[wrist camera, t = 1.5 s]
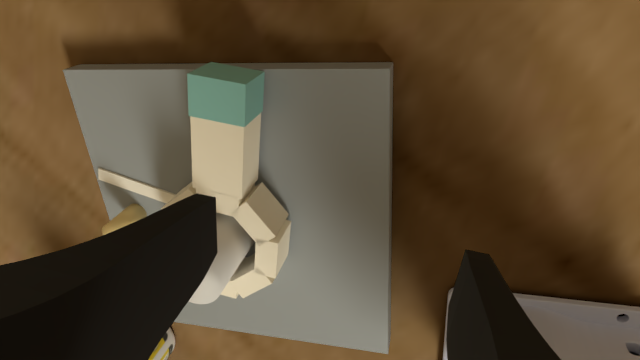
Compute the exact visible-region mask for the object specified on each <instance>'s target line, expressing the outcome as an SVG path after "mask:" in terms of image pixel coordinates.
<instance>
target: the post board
mask: <svg viewBox="0 0 640 360" xmlns="http://www.w3.org/2000/svg"><path fill="white" fill-rule="evenodd" d="M205 64H207V63H192V64H79V65H76V66H73V67H70V68H67V69H64V70H63V72H64V75H65V78H66V81H67V85H68V88H69V91H70V94H71V97H72V101H73V104H74V107H75V110H76V113H77V117H78V120H79V123H80V126H81V129H82V133H83V136H84V139H85V142H86V145H87V148H88V152H89V155H90V158H91V161H92V164H93V168H94V171H95V174H96V177H97V180H98V184H99V187H100V190H101V193H102V196H103V200H104V203H105V206H106V209H107V212H108V215H109V219H110V221H109V222H108V223H107V224H106V225H105V226H103V228H102V234H103V235H106V234H108V233H110V232H113V231H115V230H117V229H120V228H122V227H124V226H127V225H129V224H131V223H134V222H136V221H138V220H140V219H142V218H145V217H147V216H149V215H151V214H153V213H155V212H157V211H159V210H161V208H162V207H163V206H164V205H165V204H166V203H168V202H169V201H170V200H171V199H172V198H173V197H174V196H175V195H176V194H177V193H178V192H180V191H181V190H182V189H183V188H184V187H186V186H187V185H188V184H190V183H191V182H192V154H191V123H190V116H189V113H188V84H187V73H189V72H191V71H193V70H195V69H197V68H199V67H201V66H203V65H205ZM220 64H226V65H231V66H237V67H242V68H248V69H253V70H259V71H264V72H265V75H264V95H263V111H262V112H261V127H260V148H259V169H258V180H257V181H256V182H255V186H257V185H258V184H260V183H261V182H263V184H264V185H265V186H266V187H267V188H268V190H269V191H270V192H271V193H272V194H273V196H274V197H275V198H276V199H277V200H278V202H279V203H280V204H281V205H282V206H283V208H284V209H285V210H286V211H287V213H288V214H289V215H288V217H287V218H286V220H289V221H291V229H290V240H289V251H288V256H287V257H286V259H285V261H284V263H283V265H282V267H281V269H280V271H279V273H278V275H277V277H276V279H274V281H273V283H272V284H270V285H268V286H266V287H264V288H262V289H260V290H258V291H256V292H255V293H253V294H251V295H249V296H247V297H245V298H242V297H241V296H240V295H238V297H237V298H236V299H235V298H231V297H228V296H224V295H220V294H221V292H222V291H223V289H224V288H225V286H226V285H227V283H228V282H229V280H230V279H231V277H232V276H233V274H234V273H235V271H236V270H237V268H238V266H239V265H240V263H241V262H242V260H243V259H244V257H249V256H251V255H253V254H255V245H256V242H255V241H254V240H253V239H252V238H251V236H250V235H249V234H248V233H247V232H246V231H245V230H244V228H243V227H242V226H241V225H240V224H239V223H238V222H237V220H236V219H235V218H234V217H233V216H229V215H224V214H220V213H216V219H217V251H218V253H217V255H216V257H215V259H214V261H213V263H212V265H211V267H210V268H209V270H208V272H207V274H206V276H205V278H204V280H203V281H202V283H201V284H200V286H199V287H198V288H197V290H196V291H195V293H194V294H193V296H192V297H191V298H190V300H189V301H188V303H187V304H186V305H185V307H184V308H183V310H182V311H181V312H180V314H179V315H178V317H177V318H176V319H175V321H174V322H179V323H185V324H192V325H199V326H205V327H212V328H219V329H225V330H232V331H238V332H245V333H252V334H258V335H265V336H272V337H278V338H285V339H292V340H298V341H305V342H312V343H318V344H325V345H332V346H338V347H345V348H352V349H358V350H365V351H372V352H378V353H385V354H388V351H389V344H390V327H391V230H392V132H393V62H333V63H220Z"/></svg>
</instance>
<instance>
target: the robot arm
mask: <svg viewBox="0 0 640 360" xmlns="http://www.w3.org/2000/svg"><path fill="white" fill-rule="evenodd" d="M217 253H218V251H217V219H216V197H212V196H207V195H203V194H198V193H196V194H194V195H191V196H189V197H187V198H184V199H182V200H180V201H178V202H176V203H174V204H172V205H170V206H168V207H166V208H163V209H161V210H159V211H157V212H155V213H153V214H151V215H149V216H147V217H145V218H142V219H140V220H138V221H136V222H134V223H131V224H129V225H127V226H124V227H122V228H120V229H117V230H115V231H113V232H110V233H108V234H106V235H103V236H100V237H98V238H95V239H92V240H90V241H87V242H84V243H81V244H78V245H75V246H72V247H69V248H66V249H63V250H60V251H56V252H52V253H49V254H45V255H41V256H37V257H34V258H30V259H26V260H22V261H18V262H14V263H9V264H4V265H0V360H148V359H149V358H150V356H151V354H152V353H153V351H154V349H155V348H156V346H157V345H158V343H159V342H160V340H161V339H162V337H163V336H164V335H165V333H166V332H167V330H168V329H169V328H170V326H171V325H172V323H173V322H174V321H175V319H176V318H177V317H178V315H179V314H180V312H181V311H182V310H183V308H184V307H185V305H186V304H187V303H188V301H189V300H190V298H191V297H192V296H193V294H194V293H195V291H196V290H197V288H198V287H199V286H200V284H201V283H202V281H203V280H204V278H205V276H206V274H207V272H208V270H209V268H210V267H211V265H212V263H213V261H214V259H215V257H216V255H217ZM620 314H625V315H624V316H621V317H618V315H620ZM443 360H640V307H635V306H626V305H617V304H608V303H599V302H590V301H581V300H572V299H563V298H553V297H544V296H535V295H526V294H517V293H512V292H511V290H510V288H509V287H508V285H507V283H506V282H505V280H504V278H503V277H502V275H501V273H500V272H499V270H498V268H497V267H496V265H495V263H494V261H493V260H492V258H491V257H490V255H489V254H484V253H480V252H475V251H470V250H465V253H464V256H463V260H462V263H461V266H460V269H459V273H458V276H457V279H456V283H455V286H454V288H451V289H450V290H449V292H448V299H447V311H446V323H445V336H444V348H443Z"/></svg>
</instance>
